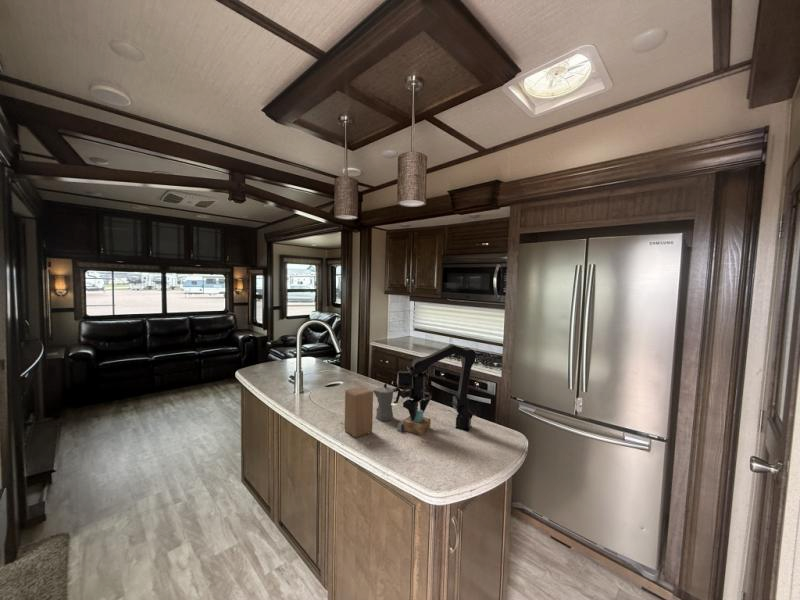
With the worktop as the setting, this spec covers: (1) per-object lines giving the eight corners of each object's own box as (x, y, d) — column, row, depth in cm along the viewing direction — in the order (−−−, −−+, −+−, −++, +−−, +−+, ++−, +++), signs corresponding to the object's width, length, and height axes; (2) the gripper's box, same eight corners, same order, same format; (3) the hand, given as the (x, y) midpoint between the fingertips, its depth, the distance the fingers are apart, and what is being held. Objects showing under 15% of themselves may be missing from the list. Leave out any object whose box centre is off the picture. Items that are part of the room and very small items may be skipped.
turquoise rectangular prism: (422, 429, 155) (423, 410, 155) (418, 432, 152) (419, 413, 151) (415, 426, 157) (415, 409, 157) (411, 429, 154) (411, 411, 153)
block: (343, 430, 151) (344, 389, 150) (361, 425, 157) (362, 385, 157) (354, 438, 143) (355, 395, 143) (373, 432, 150) (374, 390, 149)
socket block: (430, 427, 156) (430, 418, 156) (421, 435, 148) (421, 425, 148) (413, 423, 161) (413, 414, 161) (403, 430, 153) (403, 420, 153)
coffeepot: (374, 423, 160) (375, 387, 160) (370, 415, 169) (371, 382, 169) (403, 419, 165) (404, 385, 164) (398, 412, 174) (398, 380, 173)
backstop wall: (415, 422, 163) (415, 415, 163) (401, 432, 151) (401, 425, 151) (411, 421, 164) (412, 414, 164) (397, 431, 152) (397, 423, 152)
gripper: (413, 378, 166) (412, 407, 166) (393, 387, 150) (392, 419, 150) (432, 382, 160) (431, 412, 160) (414, 391, 144) (413, 425, 145)
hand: (417, 417), depth 154 cm, fingers open, 9 cm apart
